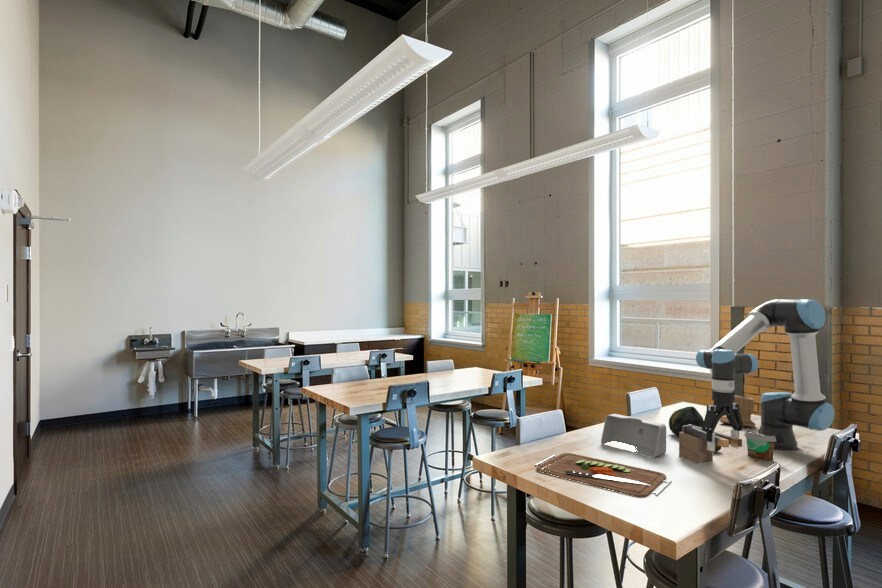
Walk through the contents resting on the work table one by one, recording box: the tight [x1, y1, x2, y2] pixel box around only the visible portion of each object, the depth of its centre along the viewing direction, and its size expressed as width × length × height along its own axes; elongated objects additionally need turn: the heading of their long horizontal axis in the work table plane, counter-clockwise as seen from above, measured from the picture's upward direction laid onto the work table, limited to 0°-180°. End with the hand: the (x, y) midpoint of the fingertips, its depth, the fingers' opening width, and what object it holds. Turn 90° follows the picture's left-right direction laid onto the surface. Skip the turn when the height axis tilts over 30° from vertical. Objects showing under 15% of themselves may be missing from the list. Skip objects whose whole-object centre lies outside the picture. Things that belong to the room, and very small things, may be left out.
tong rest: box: [678, 425, 743, 464], centre depth 195 cm, size 8×23×13 cm, turn 20°
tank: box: [600, 413, 667, 459], centre depth 217 cm, size 25×16×12 cm, turn 39°
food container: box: [743, 428, 776, 462], centre depth 204 cm, size 12×6×10 cm, turn 21°
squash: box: [668, 405, 704, 437], centre depth 235 cm, size 14×15×15 cm
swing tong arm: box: [686, 424, 730, 448], centre depth 193 cm, size 2×21×3 cm, turn 10°
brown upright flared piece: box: [719, 394, 756, 427], centre depth 257 cm, size 15×12×15 cm
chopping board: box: [535, 452, 672, 498], centre depth 184 cm, size 45×27×3 cm, turn 51°
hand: (722, 448), depth 190 cm, fingers open, 11 cm apart
